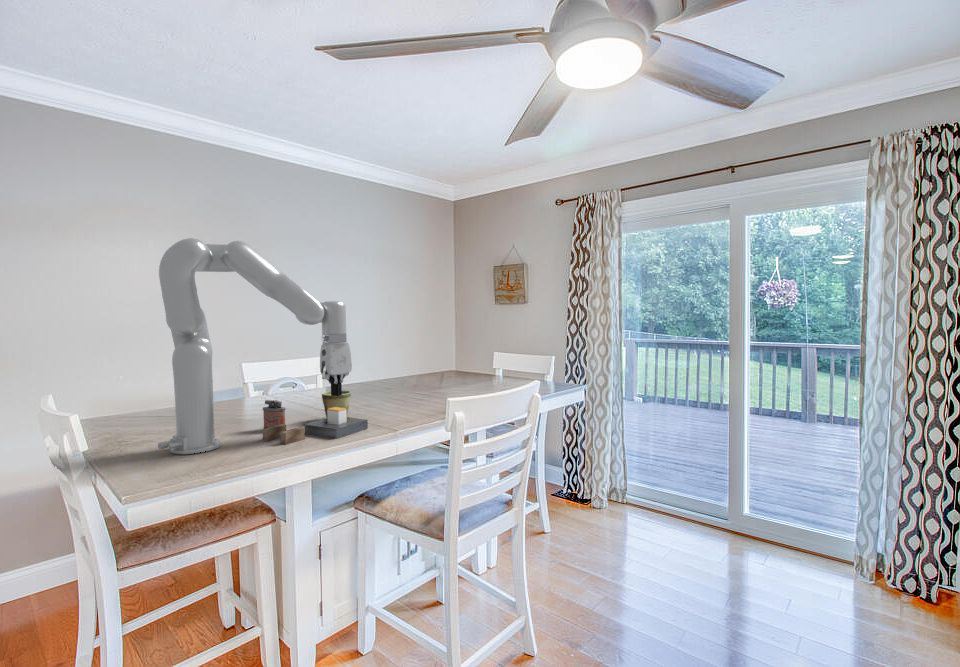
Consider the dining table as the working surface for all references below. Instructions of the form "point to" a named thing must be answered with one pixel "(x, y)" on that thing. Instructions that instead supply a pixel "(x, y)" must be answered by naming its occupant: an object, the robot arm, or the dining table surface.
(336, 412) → the white orange-topped block
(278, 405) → the lighter
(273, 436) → the holster
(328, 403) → the green plant pot
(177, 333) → the robot arm
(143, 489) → the dining table surface
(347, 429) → the port block
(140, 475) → the dining table surface
